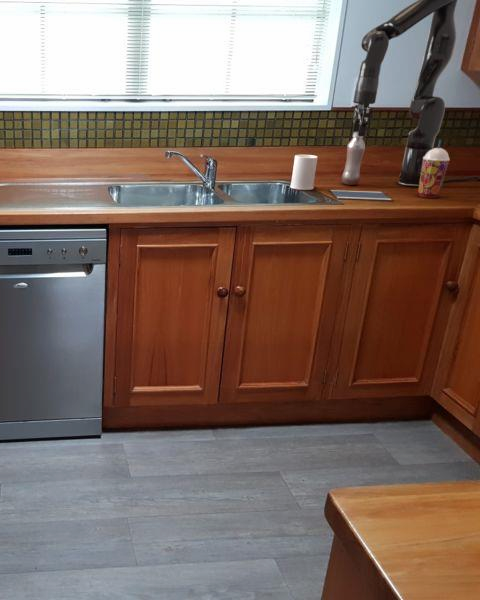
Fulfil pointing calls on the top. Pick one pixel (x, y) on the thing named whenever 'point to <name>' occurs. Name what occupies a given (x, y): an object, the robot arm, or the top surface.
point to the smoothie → (433, 172)
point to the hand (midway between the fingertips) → (358, 134)
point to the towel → (360, 195)
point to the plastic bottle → (353, 160)
